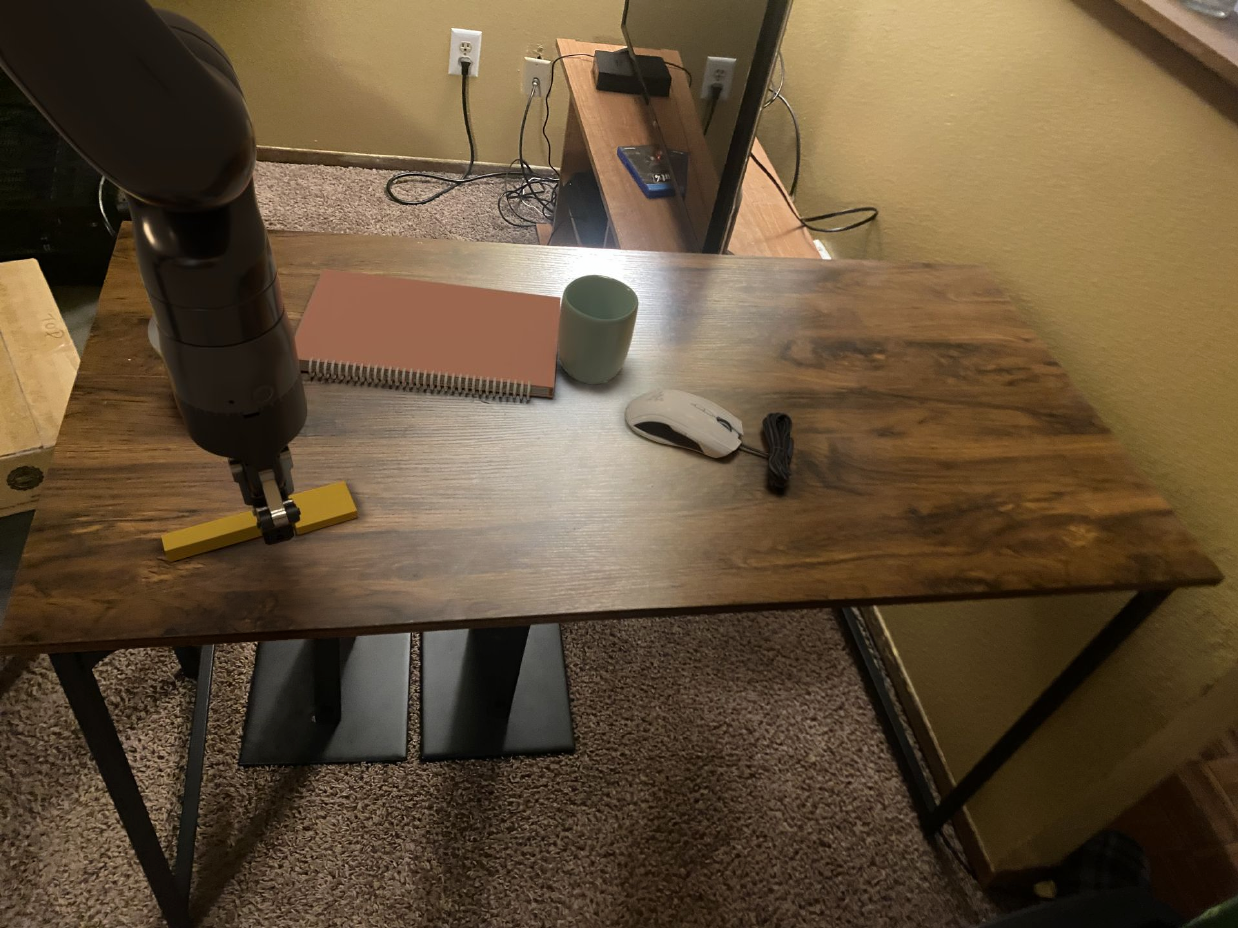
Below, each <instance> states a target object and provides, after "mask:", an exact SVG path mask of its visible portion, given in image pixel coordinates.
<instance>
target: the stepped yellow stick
mask: <svg viewBox="0 0 1238 928" xmlns="http://www.w3.org/2000/svg"><path fill="white" fill-rule="evenodd" d="M290 498H293V501H294V503H295V504H296V506H297V508H299V509H300V512H301V515H299V516H300V521H299V522H297V523H295V524H292V526H293V528H295V531H296V534H297V535H298V536H299V535H303V534H307V533H309V532H312V531H317V530H319V529H323V528H327V527H330V526H334V525H337V524H340V523H343V522H347V521H350V520H354V519H357V518H358V517H359V516H358V515H359V514H358V510H357V507H356V504H355V502H354V500H353V497H352V496H351V492H350V490H349V488H348V486H347V484H346V481H345V480H340V481H338V482H333V483H330V484H327V485H322V486H319V487H315V488H312V489H308V490H304V491H300V492H298V493H292V494H291V495H289V499H290ZM252 510H253V509H251V510H248V511H244V512H241V513H237V514H236V513H235V514H233V515H229V516H225V517H222V518H219V519H215V520H211V521H208V522H204V523H200V524H196V525H193V526H189V527H186V528H182V529H178V530H174V531H171V532H168V533H164V534H161V535H160V538H161V542H162V546H163V550H164V553H165V555H166V558H167V561H168V562H169V563H171V562H175V561H178V560H183V559H186V558H189V557H193V556H196V555H200V554H204V553H207V552H210V551H213V550H217V549H220V548H225V547H227V546H232V545H235V544H238V543H241V542H244V541H245V542H246V541H248V540H253V539H255V538H258V537H259V538H260V537H263V536H262V533H261V530H260V529H258V527H257V524H256V522H257V518H256V516H253V513H252Z"/></svg>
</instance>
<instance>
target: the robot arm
mask: <svg viewBox="0 0 1238 928" xmlns="http://www.w3.org/2000/svg"><path fill="white" fill-rule="evenodd" d="M0 67H1V69H2V70H3V71H4V72H5V73H6V75H7V76H8V77H9V78H10V79H11V80H12V82H13V83H14V84H15V85H16V86H17V88H19V90H21V91H22V93H23V94H24V95H25V96H26V98H28V100H29V101H30V102H31V103H32V104H33V106H35V108H36V109H37V110H38V111H39V112H40V113H41V114H42V116H43V117H44V118H45V119H46V120H47V121H48V122H49V124H51V126H52V127H53V128H54V129H55V130H56V131H57V132H58V133H59V135H61V136H62V138H63V139H64V141H66V142H67V143H68V144H69V145H70V146H71V147H72V148H73V149H74V151H76V153H78V154H79V155H80V156H81V158H83V160H85V161H86V162H87V163H88V164H89V165H90V166H91V167H92V168H93V169H94V170H96V171H97V172H98V173H99V174H100V175H101V176H102V177H104V178H105V179H106V180H108V181H109V182H110V183H112V184H113V185H115V187H117V188H118V189H121V190H122V192H123V195H124V198H125V201H126V203H127V208H128V210H129V214H130V219H131V225H132V233H133V234H132V235H133V242H134V243H133V244H134V250H135V256H136V262H137V267H138V271H139V275H140V278H141V281H142V284H143V287H144V290H145V293H146V297H147V300H148V303H149V305H150V309H151V312H152V316H153V315H154V318H155V321H156V326H157V330H158V338H159V344H160V350H161V354H162V358H163V361H164V364H165V367H166V370H167V373H168V376H169V379H170V382H171V385H172V388H173V391H174V394H175V397H176V400H177V403H178V406H179V409H180V412H181V414H180V415H181V417H182V421H183V423H184V426H185V429H186V432H187V434H188V436H189V438H190V439H191V440H192V442H193V443H195V444H196V446H198V447H199V448H201V449H202V450H204V451H206V452H208V453H209V454H212V455H214V456H217V457H222V458H227V459H226V460H227V463H228V466H229V470H230V473H231V476H232V479H233V482H234V483H236V484H238V486H239V490H240V494H241V496H242V500H243V504H244V505H245V506H250V507H252V509H251V510H252V513H253V516H256V518H257V522H256V524H257V527H258V529H260V530H261V533H262V536H261V537H262V540H263V542H264V544H265V545H266V546H274V545H278V544H281V543H284V542H287V541H290V540H292V539H293V538H294V537H295V530H294V527H293V526H292V524H295V523H297V522H299V521H300V516H299V515H301V512H300V509H299V508H297V506H296V504H295V503H294V501H293V498H290V499H289V495H293V494H294V492H295V486H294V481H293V475H292V469H293V468H294V461H293V456H292V451H291V449H290V447H289V444H290V443H291V442H292V441H293V440H295V439H296V438H297V436H298V435H299V434H301V432H302V430H303V429H304V427H305V424H306V422H307V418H308V405H307V400H306V394H305V393H306V392H305V388H304V381H303V377H302V372H301V370H300V365H299V360H298V354H297V349H296V343H295V338H294V336H295V334H294V331H293V327H292V326H293V325H292V324H291V320H290V318H289V315H288V314H287V309H286V307H285V303H284V297H283V291H282V286H281V280H280V276H279V269H278V264H277V259H276V255H275V252H274V248H273V245H272V242H271V239H270V236H269V233H268V230H267V227H266V225H265V222H264V219H263V217H262V213H261V210H260V208H259V207H260V206H259V204H258V199H257V194H256V187H255V180H254V171H255V168H256V164H257V151H258V143H257V141H258V140H257V134H256V129H255V125H254V121H253V119H252V114H251V112H250V110H249V106H248V103H247V101H246V100H247V99H246V97H245V93H244V91H243V88H242V85H241V81H240V78H239V76H238V73H237V71H236V68H235V66H234V64H233V62H232V61H231V59H230V57H229V55H228V54H227V53H226V51H225V49H224V48H223V47H222V45H220V43H219V42H218V41H217V40H216V39H215V38H214V37H213V36H212V35H211V34H210V33H209V32H208V31H207V30H206V29H204V28H203V27H202V26H200V24H197V23H196V22H195V21H193V20H191V19H190V18H188V17H186V16H184V15H182V14H180V13H178V12H174V11H172V10H168V9H165V8H162V7H161V8H160V7H153V6H152V5H151V3H150V2H149V1H148V0H0ZM162 358H161V359H162ZM163 361H162V362H163ZM164 364H163V365H164ZM165 367H164V368H165ZM166 370H165V371H166ZM167 373H166V374H167ZM168 376H167V377H168ZM169 379H168V380H169ZM170 382H169V383H170ZM171 385H170V386H171ZM172 388H171V389H172ZM180 412H179V413H180Z"/></svg>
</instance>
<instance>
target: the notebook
mask: <svg viewBox="0 0 1238 928" xmlns="http://www.w3.org/2000/svg"><path fill="white" fill-rule="evenodd" d="M561 301H562V298H561V297H560V296H552V295H544V294H535V293H528V292H521V291H512V290H502V289H496V288H495V289H494V288H488V287H478V286H471V285H462V284H461V285H460V284H452V283H446V282H439V281H438V282H437V281H430V280H422V279H414V278H413V279H412V278H404V277H397V276H388V275H381V274H380V275H379V274H370V273H364V272H357V271H356V272H355V271H346V270H339V269H332V268H331V269H330V268H322V270H321V272H320V274H319V277H318V279H317V281H316V283H315V286H314V289H313V290H312V293H311V295H310V298H309V300H308V303H307V305H306V308H305V310H304V313H303V315H302V317H301V319H300V322H299V325H298V327H297V329H296V332H295V334H294V338H295V343H296V349H297V354H298V360H299V365H300V371H302V372H308V374H309V377H314V376H315V375H316V377H317V378H321V377H322V376H323V377H324V378H325V379H329V377H330V378H331V379H332V380H335V379H336V378H338V380H341V381H342V380H343V379H345V381H350V380H351V377H352V381H353V382H357V381H358V379H359V382H361V383H364V382H365V380H366V382H367V384H368V383H372V380H373V383H374V384H378V383H379V381H380V383H381V385H385V384H386V381H387V384H388V385H389V386H392V385H393V382H394V385H395V386H396V387H399V386H400V382H401V385H402V387H406V386H407V383H408V387H409V388H413V387H414V384H415V388H416V389H420V388H421V384H422V387H423V389H424V390H427V389H428V385H429V389H430V390H434V389H435V386H436V390H437V391H440V390H442V387H443V390H444V392H447V391H448V389H449V388H450V391H451V393H454V392H455V389H456V388H457V392H458V393H462V389H464V393H465V394H468V393H469V390H471V394H472V395H475V394H476V390H478V395H481V396H482V394H483V391H485V396H489V393H490V392H492V393H491V394H492V396H493V397H496V393H498V396H499V398H502V397H503V394H504V393H505V397H506V398H509V397H510V394H512V398H513V399H516V397H517V395H519V399H520V400H522V399H523V396H524V395H525V396H526V400H527V401H529V400H530V396H533V397H534V396H535V397H543V398H552V399H553V398H554V389H555V380H556V379H555V377H556V368H557V367H556V365H557V364H556V363H557V353H558V327H559V317H560V309H561ZM344 377H345V378H344Z"/></svg>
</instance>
